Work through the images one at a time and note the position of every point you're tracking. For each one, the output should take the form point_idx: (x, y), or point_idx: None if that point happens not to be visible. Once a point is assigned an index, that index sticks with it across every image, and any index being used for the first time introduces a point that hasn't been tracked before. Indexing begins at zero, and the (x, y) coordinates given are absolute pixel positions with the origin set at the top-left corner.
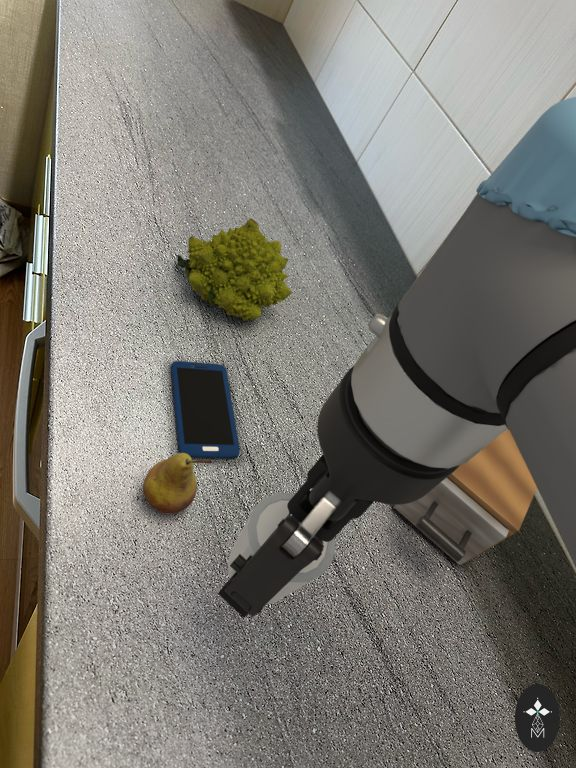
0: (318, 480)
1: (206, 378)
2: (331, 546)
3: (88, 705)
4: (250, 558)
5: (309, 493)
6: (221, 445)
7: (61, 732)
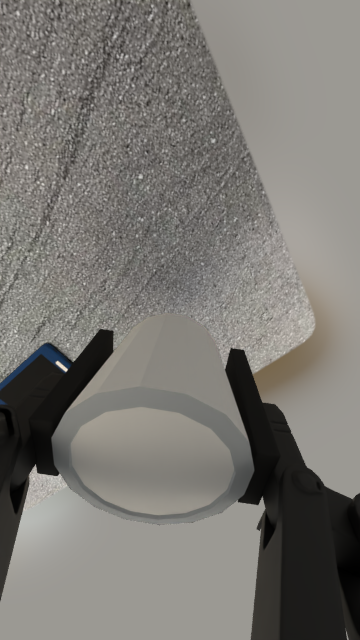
0: (5, 575)
1: (13, 400)
2: (108, 402)
3: (281, 330)
4: (244, 500)
5: (42, 466)
6: (51, 361)
7: (302, 334)
